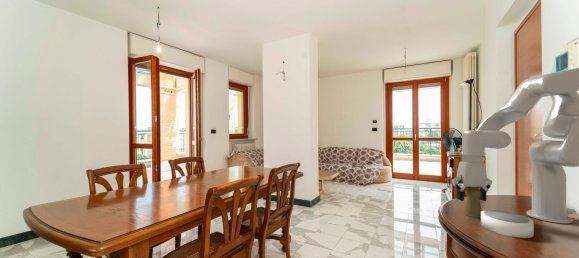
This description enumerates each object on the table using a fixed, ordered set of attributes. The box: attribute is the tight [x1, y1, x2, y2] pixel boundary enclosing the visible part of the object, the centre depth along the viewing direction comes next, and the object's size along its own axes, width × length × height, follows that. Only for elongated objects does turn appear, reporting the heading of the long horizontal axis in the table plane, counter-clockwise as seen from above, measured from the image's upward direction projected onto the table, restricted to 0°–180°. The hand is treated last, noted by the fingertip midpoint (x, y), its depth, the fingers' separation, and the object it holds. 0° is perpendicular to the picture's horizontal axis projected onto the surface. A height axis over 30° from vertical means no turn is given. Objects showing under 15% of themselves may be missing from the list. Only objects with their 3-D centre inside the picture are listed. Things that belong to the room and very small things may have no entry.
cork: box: [463, 188, 482, 219], centre depth 100 cm, size 6×6×11 cm
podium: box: [480, 209, 535, 239], centre depth 86 cm, size 14×14×5 cm
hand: (471, 200), depth 100 cm, fingers open, 9 cm apart
